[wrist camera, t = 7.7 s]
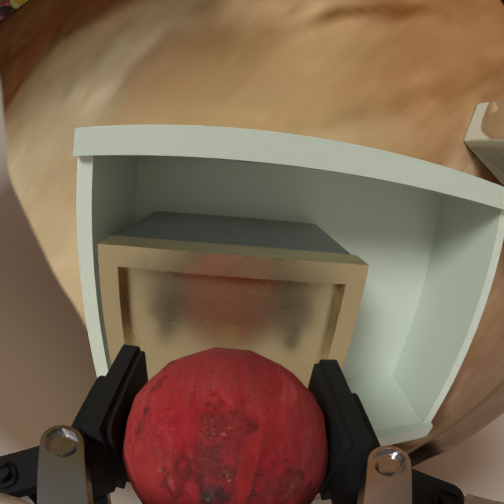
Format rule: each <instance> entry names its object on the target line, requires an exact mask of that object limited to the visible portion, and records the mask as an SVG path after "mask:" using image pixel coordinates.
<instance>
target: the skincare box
mask: <svg viewBox="0 0 504 504" xmlns="http://www.w3.org/2000/svg"><path fill="white" fill-rule="evenodd" d="M464 142H465V144H466V145H467V146H468V147H469V148H470V149H471V150H472V151H473V152H474V154H475V155H476V156H477V157H478V158H479V159H480V160H481V161H482V162H483V164H484V165H485V166H486V167H487V168H488V169H489V170H490V171H491V172H492V174H493V175H494V176H495V177H496V178H497V179H498V180H499V182H500V183H501V184H503V185H504V100H501V101H494V102H486V103H480V104H478V105H477V108H476V111H475V113H474V116H473V118H472V121H471V123H470V126H469V128H468V131H467V134H466V136H465V139H464Z"/></svg>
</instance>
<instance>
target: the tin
mask: <svg viewBox="0 0 504 504" xmlns="http://www.w3.org/2000/svg"><path fill="white" fill-rule="evenodd" d="M98 262H99V276H100V288H101V298H102V307H103V315H104V323H105V330H106V337H107V343H108V350H109V355H110V361H111V365H112V364H113V362H114V360H115V358H116V356H117V355H118V353H119V351H120V349H121V347H122V346H123V345H124V344H127V345H133V346H139V347H140V351H144V352H145V356H146V365H147V374H148V381H149V380H150V379H151V378H152V377H153V376H155V375H156V374H157V373H158V372H159V371H160V370H161V369H162V368H164V367H165V366H166V365H167V364H168V363H169V362H170V361H173V360H176V359H179V358H181V357H184V356H187V355H191V354H194V353H197V352H201V351H204V350H207V349H211V348H214V347H218V348H229V349H240V350H251V351H253V352H255V353H258V354H260V355H262V356H264V357H266V358H268V359H270V360H272V361H274V362H276V363H279V364H281V365H282V366H283V367H285V368H286V369H288V370H289V371H291V372H292V373H294V374H295V376H296V377H297V378H298V379H299V380H300V381H301V382H302V383H303V384H304V385H305V387H306V388H307V389H308V385H309V381H310V378H311V374H312V370H313V366H314V364H315V363H319V361H320V360H321V359H336V360H337V361H338V364H339V366H340V368H341V370H342V368H343V365H344V362H345V358H346V355H347V352H348V348H349V345H350V341H351V338H352V334H353V331H354V327H355V323H356V319H357V316H358V312H359V308H360V304H361V300H362V295H363V291H364V287H365V283H366V278H367V273H368V269H369V265H368V264H367V263H366V262H365V261H363V260H362V259H361V258H360V257H359V256H357V255H351V254H350V253H349V252H348V251H347V250H345V249H344V248H343V247H342V246H341V245H340V244H338V243H337V242H336V241H335V240H334V239H333V238H331V237H330V236H329V235H328V234H327V233H325V232H324V231H323V230H322V229H321V228H319V227H318V226H317V225H316V224H309V223H299V222H289V221H278V220H268V219H256V218H245V217H233V216H220V215H207V214H194V213H179V212H164V211H155V212H153V213H152V214H150V215H148V216H147V217H145V218H143V219H142V220H140V221H139V222H137V223H135V224H134V225H132V226H131V227H129V228H128V229H126V230H124V231H123V232H121V233H120V234H118V235H117V236H114V235H110V236H109V237H107V238H106V239H104V240H102V241H101V242H99V243H98Z"/></svg>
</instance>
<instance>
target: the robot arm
mask: <svg viewBox="0 0 504 504" xmlns="http://www.w3.org/2000/svg"><path fill="white" fill-rule="evenodd" d="M503 1H504V0H503ZM147 382H148V374H147V365H146V356H145V352H144V351H140V347H139V346H133V345H127V344H124V345H123V346H122V347H121V349H120V351H119V353H118V355H117V356H116V358H115V360H114V362H113V364H112V365H111V367H110V369H109V371H108V373H107V374H106V376H102V375H101V376H99V377H98V378H97V380H96V381H95V383H94V385H93V387H92V388H91V390H90V392H89V394H88V396H87V397H86V400H85V401H84V403H83V405H82V407H81V409H80V410H79V412H78V414H77V416H76V418H75V420H74V422H73V424H72V426H71V427H70V426H66V425H57V426H54V427H51V428H49V429H48V430H46V431H45V432H44V433H43V435H42V436H41V440H40V446H37V447H33V448H30V449H26V450H23V451H19V452H16V453H12V454H8V455H4V456H0V504H111V499H110V493H111V492H114V491H115V488H116V487H119V488H123V489H124V488H125V484H126V482H130V480H129V478H128V476H127V473H126V469H125V466H124V462H123V458H122V440H123V434H124V431H125V427H126V424H127V420H128V417H129V414H130V411H131V407H132V404H133V401H134V398H135V396H136V395H137V394H138V392H139V391H140V390H141V389H142V388H143V387H144V386H145V384H146V383H147ZM308 390H309V391H310V392H311V393H312V394H313V396H314V398H315V399H316V401H317V403H318V405H319V407H320V408H321V410H322V412H323V414H324V421H325V429H326V436H327V444H328V452H329V458H328V466H327V473H326V476H325V479H324V481H323V483H322V486H321V488H320V490H319V492H318V493H320V495H321V499H322V500H327V499H331V501H332V504H504V503H503V502H498V501H493V500H489V499H485V498H481V497H478V496H474V495H470V494H468V495H467V496H464V495H463V493H462V491H461V490H460V489H459V488H458V487H457V486H455V485H453V484H451V483H448V482H445V481H442V480H440V479H437V478H434V477H431V476H429V475H427V474H424V473H421V472H419V471H417V470H414V469H412V468H411V461H410V458H409V456H408V455H407V453H406V452H404V451H403V450H402V449H400V448H398V447H395V446H390V445H388V446H381V445H380V443H379V441H378V438H377V436H376V434H375V432H374V429H373V427H372V425H371V423H370V420H369V418H368V416H367V414H366V412H365V409H364V407H363V405H362V403H361V401H360V398H359V396H358V395H357V394H356V393H351V390H350V388H349V386H348V384H347V381H346V379H345V377H344V375H343V373H342V370H341V368H340V366H339V364H338V361H337V360H336V359H321V360H320V361H319V363H315V364H314V366H313V370H312V374H311V378H310V381H309V385H308Z"/></svg>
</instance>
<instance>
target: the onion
mask: <svg viewBox="0 0 504 504" xmlns="http://www.w3.org/2000/svg"><path fill="white" fill-rule="evenodd" d="M122 458H123V462H124V466H125V469H126V473H127V476H128V478H129V480H130V482H131V485H132V487H133V489H134V491H135V493H136V494H137V496H138V497H139V499H140V500H141V502H142V504H311V502H312V501H313V500H314V498H315V497H316V495H317V494H318V492H319V490H320V488H321V486H322V483H323V481H324V479H325V476H326V473H327V466H328V458H329V452H328V444H327V436H326V429H325V421H324V414H323V412H322V410H321V408H320V407H319V405H318V403H317V401H316V399H315V398H314V396H313V394H312V393H311V392H310V391H309V390H308V389H307V388H306V387H305V385H304V384H303V383H302V382H301V381H300V380H299V379H298V378H297V377H296V376H295V374H294V373H292V372H291V371H289V370H288V369H286V368H285V367H283V366H282V365H281V364H279V363H276V362H274V361H272V360H270V359H268V358H266V357H264V356H262V355H260V354H258V353H255V352H253V351H251V350H240V349H229V348H218V347H214V348H211V349H207V350H204V351H201V352H197V353H194V354H191V355H187V356H184V357H181V358H179V359H176V360H173V361H170V362H169V363H168V364H167V365H166V366H165V367H164V368H162V369H161V370H160V371H159V372H158V373H157V374H156V375H155V376H153V377H152V378H151V379H150V380H149V381H148V382H147V383H146V384H145V386H144V387H143V388H142V389H141V390H140V391H139V392H138V394H137V395H136V396H135V398H134V401H133V404H132V407H131V411H130V414H129V417H128V420H127V424H126V427H125V431H124V434H123V440H122Z"/></svg>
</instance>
